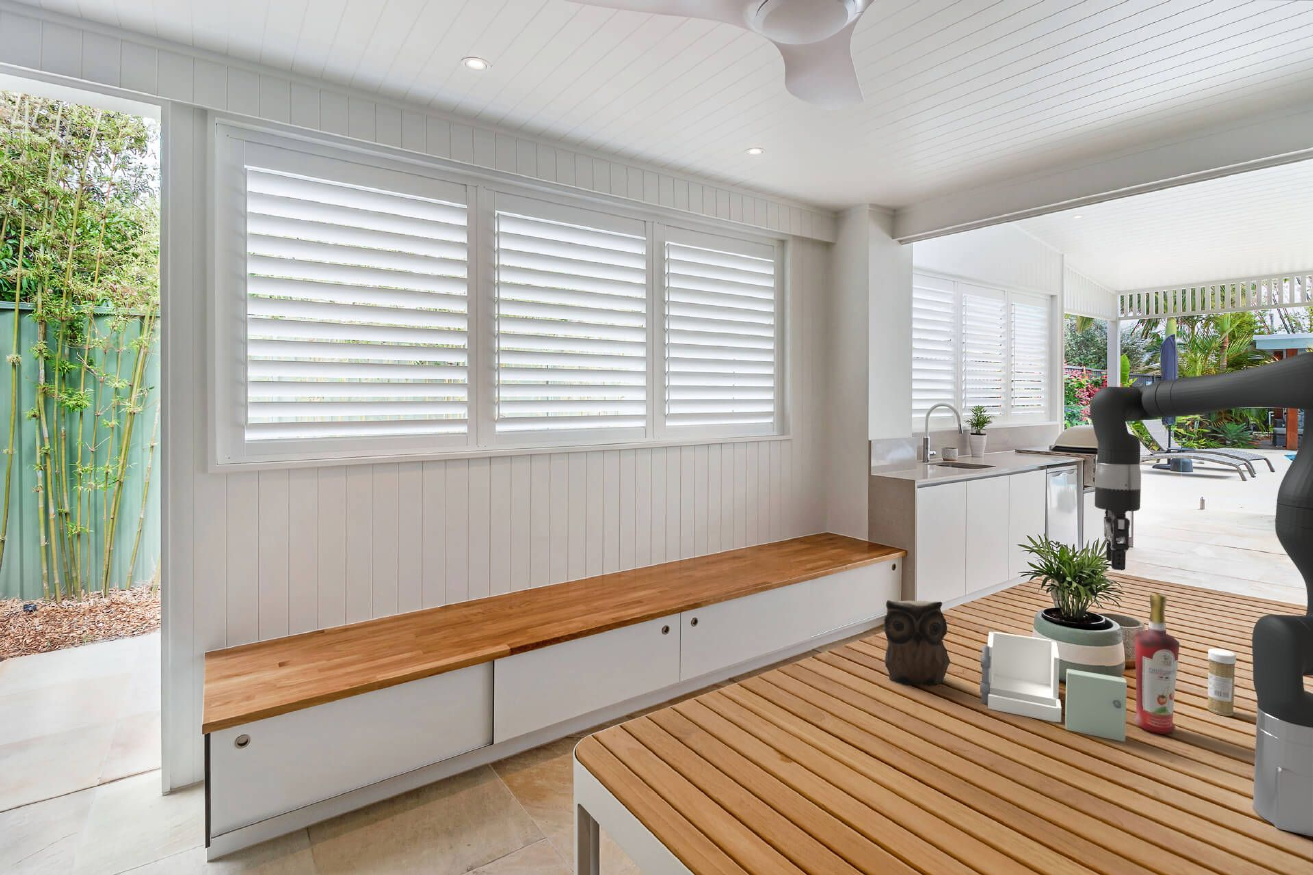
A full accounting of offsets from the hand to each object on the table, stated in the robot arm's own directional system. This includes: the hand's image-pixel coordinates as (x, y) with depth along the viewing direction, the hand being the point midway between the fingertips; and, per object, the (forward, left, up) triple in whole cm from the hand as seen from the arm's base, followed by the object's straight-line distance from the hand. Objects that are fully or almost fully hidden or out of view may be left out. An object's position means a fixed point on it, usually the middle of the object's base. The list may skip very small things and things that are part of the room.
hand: (1115, 564), depth 131 cm
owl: (+10, +39, -35) cm, 53 cm away
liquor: (+6, -8, -35) cm, 36 cm away
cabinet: (+8, +16, -35) cm, 39 cm away
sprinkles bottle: (+22, -22, -35) cm, 47 cm away
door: (-2, +3, -35) cm, 35 cm away
